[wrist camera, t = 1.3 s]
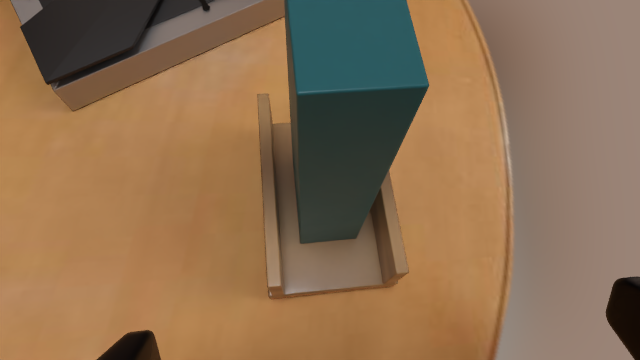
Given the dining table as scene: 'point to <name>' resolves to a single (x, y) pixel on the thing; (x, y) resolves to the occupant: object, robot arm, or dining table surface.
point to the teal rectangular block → (348, 106)
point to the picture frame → (128, 38)
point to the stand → (330, 256)
